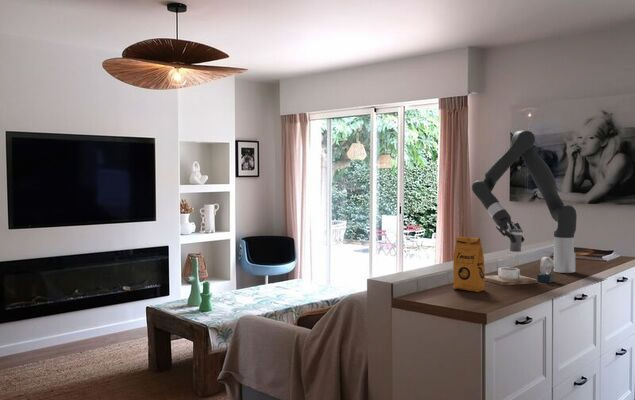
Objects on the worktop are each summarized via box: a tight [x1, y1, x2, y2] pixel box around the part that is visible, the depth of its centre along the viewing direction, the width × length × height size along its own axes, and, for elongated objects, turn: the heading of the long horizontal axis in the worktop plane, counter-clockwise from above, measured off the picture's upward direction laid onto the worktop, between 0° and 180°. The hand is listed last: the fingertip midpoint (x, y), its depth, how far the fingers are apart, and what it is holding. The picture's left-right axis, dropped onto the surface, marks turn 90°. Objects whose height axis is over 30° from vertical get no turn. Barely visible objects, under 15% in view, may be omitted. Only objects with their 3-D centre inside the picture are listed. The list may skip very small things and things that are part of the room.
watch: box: [536, 256, 555, 284], centre depth 258 cm, size 6×8×11 cm
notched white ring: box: [497, 267, 521, 280], centre depth 258 cm, size 9×9×4 cm
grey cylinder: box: [509, 228, 523, 253], centre depth 266 cm, size 5×5×10 cm
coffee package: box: [452, 236, 486, 293], centre depth 238 cm, size 10×12×22 cm
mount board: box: [485, 274, 538, 286], centre depth 258 cm, size 18×16×2 cm
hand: (518, 241), depth 265 cm, fingers closed on grey cylinder, 5 cm apart
